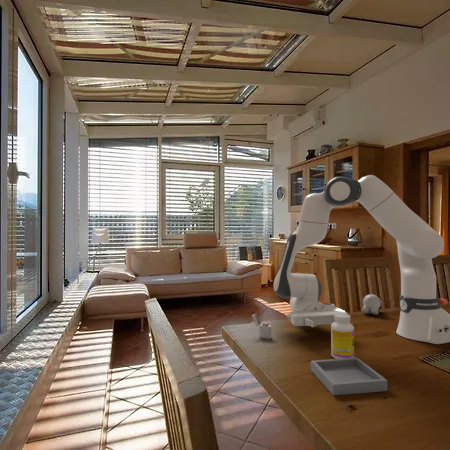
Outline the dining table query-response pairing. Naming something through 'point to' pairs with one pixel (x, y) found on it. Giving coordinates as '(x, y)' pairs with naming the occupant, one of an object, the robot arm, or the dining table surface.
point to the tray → (348, 376)
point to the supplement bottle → (342, 337)
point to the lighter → (262, 327)
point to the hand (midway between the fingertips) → (327, 324)
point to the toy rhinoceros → (371, 304)
